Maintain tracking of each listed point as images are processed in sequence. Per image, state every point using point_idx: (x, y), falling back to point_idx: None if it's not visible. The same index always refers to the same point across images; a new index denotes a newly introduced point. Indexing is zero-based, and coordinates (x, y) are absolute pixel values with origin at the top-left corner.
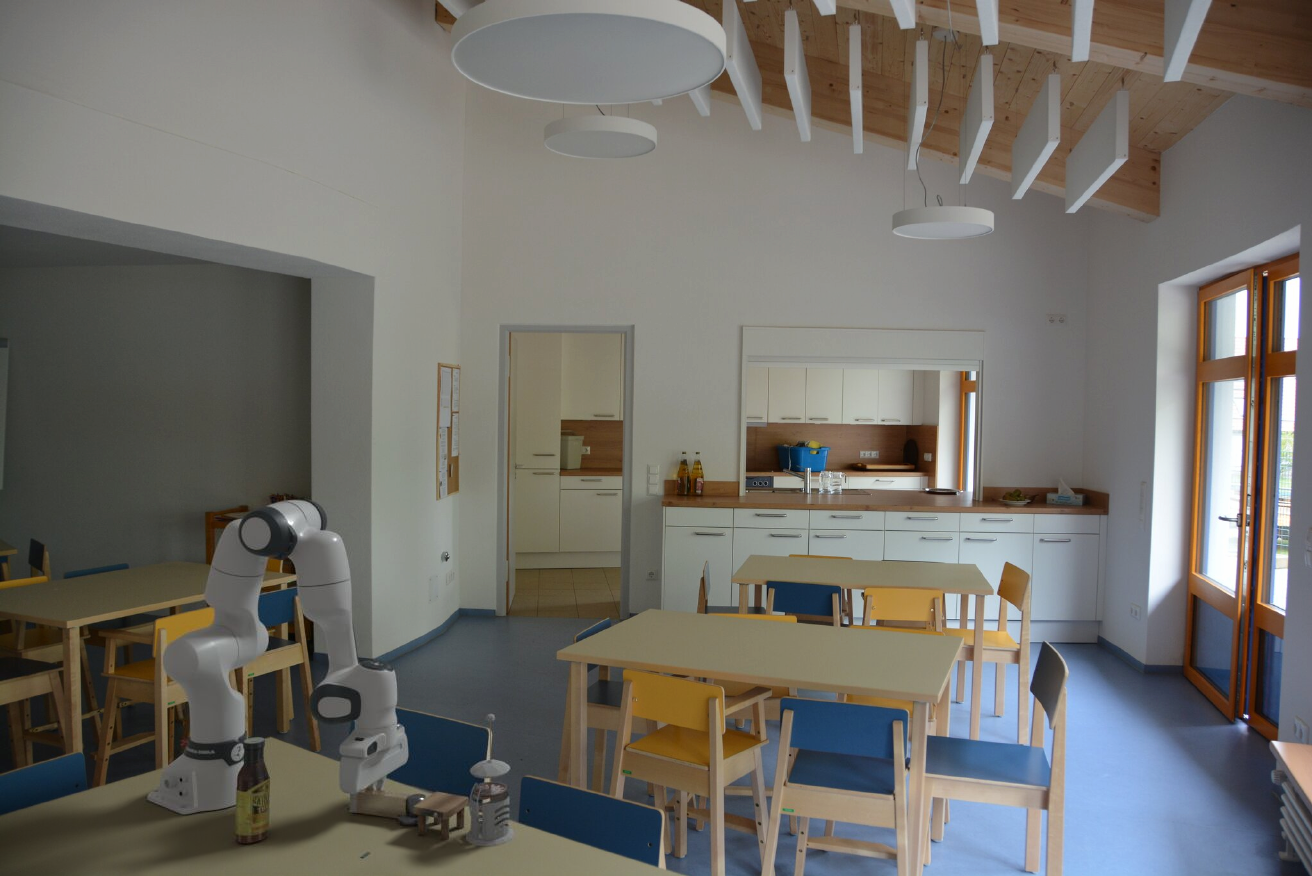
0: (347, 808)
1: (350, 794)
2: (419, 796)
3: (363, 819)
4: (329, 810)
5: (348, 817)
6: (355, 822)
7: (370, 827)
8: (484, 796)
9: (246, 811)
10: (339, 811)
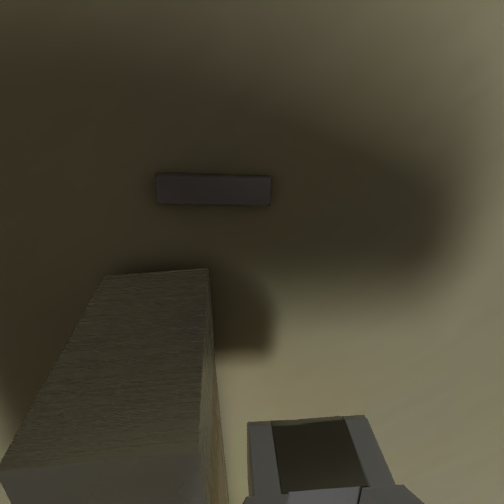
0: (167, 195)
1: (30, 421)
2: None
3: None
4: (54, 3)
5: (44, 303)
6: (11, 396)
7: None
8: None
9: None
10: (96, 143)
